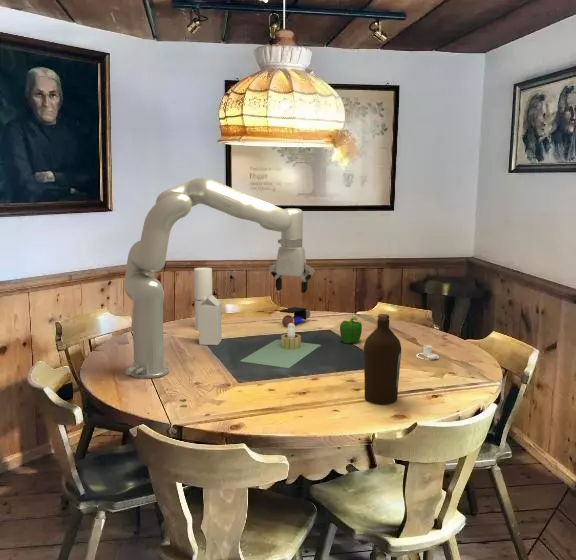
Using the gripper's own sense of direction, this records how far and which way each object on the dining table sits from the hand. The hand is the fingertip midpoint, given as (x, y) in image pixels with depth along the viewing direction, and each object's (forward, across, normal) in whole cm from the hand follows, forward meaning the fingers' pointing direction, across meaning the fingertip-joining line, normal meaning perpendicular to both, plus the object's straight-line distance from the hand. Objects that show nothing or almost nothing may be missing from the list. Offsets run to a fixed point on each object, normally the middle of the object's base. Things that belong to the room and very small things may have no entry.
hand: (291, 291), depth 229 cm
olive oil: (+22, +43, -34) cm, 59 cm away
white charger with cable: (+23, +46, +11) cm, 52 cm away
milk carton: (+22, -32, -3) cm, 39 cm away
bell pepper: (+22, +16, +20) cm, 34 cm away
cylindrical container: (+22, -45, +14) cm, 52 cm away
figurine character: (+22, -14, +37) cm, 46 cm away
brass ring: (+21, 0, 0) cm, 21 cm away
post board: (+22, 0, -8) cm, 24 cm away
